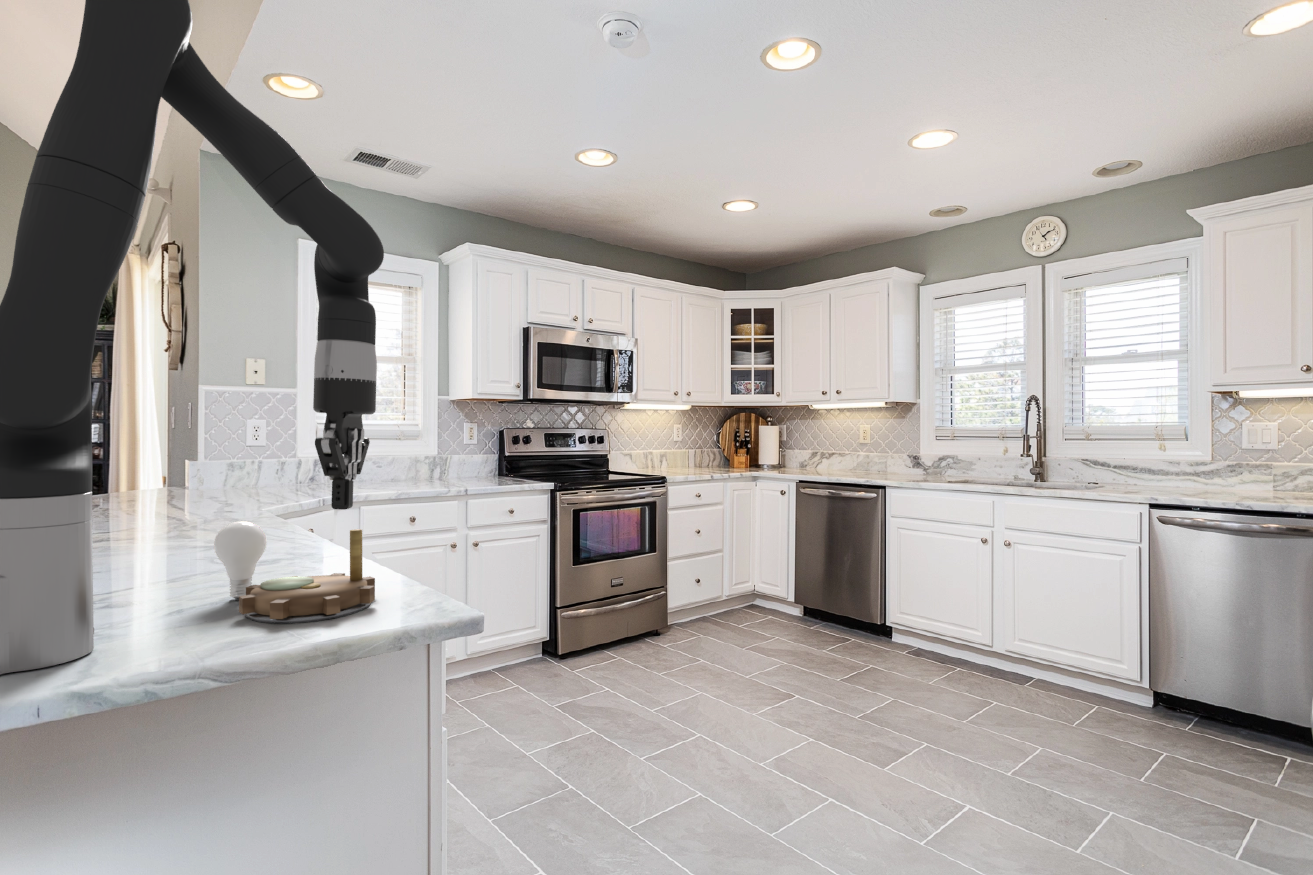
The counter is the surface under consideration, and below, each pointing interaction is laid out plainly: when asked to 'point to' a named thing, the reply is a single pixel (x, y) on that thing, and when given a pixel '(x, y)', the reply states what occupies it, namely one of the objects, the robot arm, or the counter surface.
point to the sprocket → (312, 590)
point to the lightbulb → (240, 553)
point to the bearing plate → (306, 616)
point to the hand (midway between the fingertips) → (342, 508)
